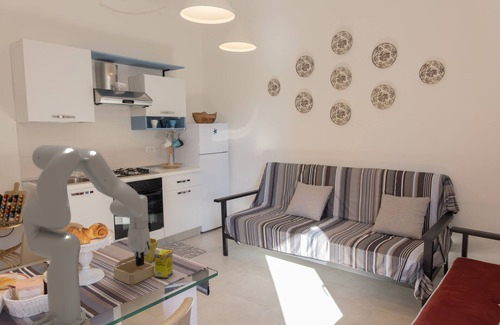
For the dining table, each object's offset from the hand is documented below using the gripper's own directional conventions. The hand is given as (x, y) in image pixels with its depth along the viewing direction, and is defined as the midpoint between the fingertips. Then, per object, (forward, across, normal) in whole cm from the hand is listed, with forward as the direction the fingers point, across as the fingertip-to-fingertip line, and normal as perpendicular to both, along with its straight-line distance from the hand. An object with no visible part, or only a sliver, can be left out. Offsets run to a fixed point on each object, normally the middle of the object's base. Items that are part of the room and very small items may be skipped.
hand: (140, 265), depth 151 cm
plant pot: (+6, -14, +15) cm, 21 cm away
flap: (0, -8, 0) cm, 8 cm away
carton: (+6, -4, 0) cm, 7 cm away
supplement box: (+6, +6, +8) cm, 12 cm away
